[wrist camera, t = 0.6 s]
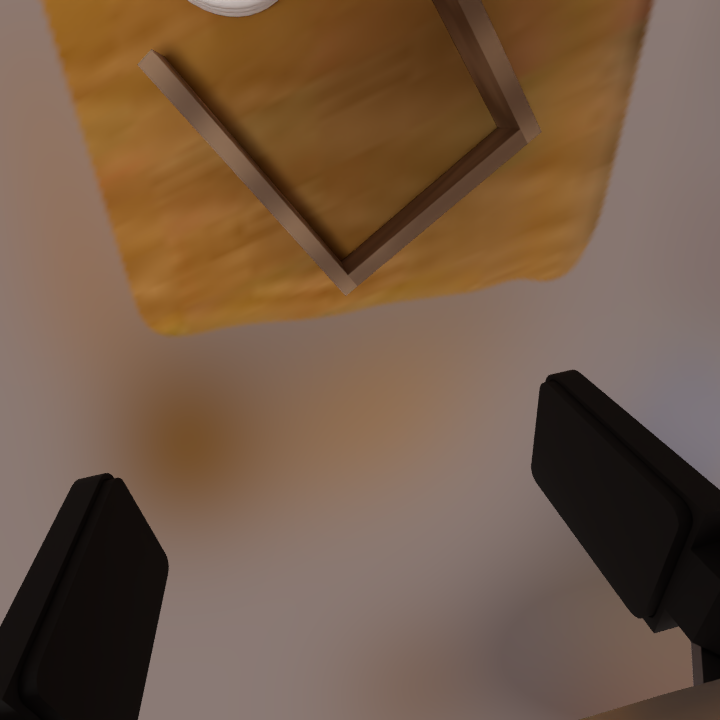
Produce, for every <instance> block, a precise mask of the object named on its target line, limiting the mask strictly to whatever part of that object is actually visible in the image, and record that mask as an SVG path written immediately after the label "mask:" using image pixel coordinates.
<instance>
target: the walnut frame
mask: <svg viewBox="0 0 720 720" xmlns="http://www.w3.org/2000/svg"><path fill="white" fill-rule="evenodd" d="M432 1H433V3H434V5H435V7H436V8H437V10H438V12H439V14H440V16H441V18H442V20H443V22H444V24H445V26H446V28H447V30H448V32H449V34H450V36H451V38H452V40H453V42H454V43H455V45H456V47H457V49H458V51H459V53H460V55H461V57H462V59H463V61H464V63H465V65H466V67H467V69H468V71H469V73H470V75H471V77H472V78H473V80H474V82H475V84H476V86H477V88H478V90H479V92H480V94H481V96H482V98H483V100H484V102H485V104H486V106H487V108H488V110H489V111H490V113H491V115H492V117H493V119H494V121H495V123H496V125H497V127H498V128H497V129H495V130H494V131H493V132H492V133H491V134H490V135H488V136H487V137H486V138H485V139H484V140H483V141H482V142H480V143H479V144H478V145H477V146H476V147H475V148H473V149H472V150H471V151H470V152H469V153H468V154H466V155H465V156H464V157H463V158H462V159H461V160H459V161H458V162H457V163H456V164H455V165H454V166H452V167H451V168H450V169H449V170H448V171H447V172H445V173H444V174H443V175H442V176H441V177H440V178H438V179H437V180H436V181H435V182H434V183H433V184H431V185H430V186H429V187H428V188H427V189H426V190H424V191H423V192H422V193H421V194H420V195H419V196H417V197H416V198H415V199H414V200H413V201H412V202H410V203H409V204H408V205H407V206H406V207H405V208H403V209H402V210H401V211H400V212H399V213H398V214H396V215H395V216H394V217H393V218H392V219H391V220H389V221H388V222H387V223H386V224H385V225H384V226H382V227H381V228H380V229H379V230H378V231H377V232H375V233H374V234H373V235H372V236H371V237H370V238H368V239H367V240H366V241H365V242H364V243H363V244H361V245H360V246H359V247H358V248H357V249H356V250H354V251H353V252H352V253H351V254H350V255H349V256H348V257H346V258H345V259H344V260H343V261H342V262H341V261H340V260H339V259H338V258H337V257H336V256H335V254H334V253H333V252H332V251H331V250H330V249H329V247H328V246H327V245H326V244H325V243H324V242H323V241H322V239H321V238H320V237H319V236H318V235H317V234H316V232H315V231H314V230H313V229H312V228H311V227H310V225H309V224H308V223H307V222H306V221H305V220H304V218H303V217H302V216H301V215H300V214H299V213H298V212H297V210H296V209H295V208H294V207H293V206H292V205H291V203H290V202H289V201H288V200H287V199H286V198H285V196H284V195H283V194H282V193H281V192H280V191H279V189H278V188H277V187H276V186H275V185H274V184H273V182H272V181H271V180H270V179H269V178H268V177H267V176H266V174H265V173H264V172H263V171H262V170H261V169H260V167H259V166H258V165H257V164H256V163H255V162H254V160H253V159H252V158H251V157H250V156H249V155H248V153H247V152H246V151H245V150H244V149H243V148H242V147H241V145H240V144H239V143H238V142H237V141H236V140H235V138H234V137H233V136H232V135H231V134H230V133H229V131H228V130H227V129H226V128H225V127H224V126H223V124H222V123H221V122H220V121H219V120H218V119H217V117H216V116H215V115H214V114H213V113H212V112H211V111H210V109H209V108H208V107H207V106H206V105H205V104H204V102H203V101H202V100H201V99H200V98H199V97H198V95H197V94H196V93H195V92H194V91H193V90H192V88H191V87H190V86H189V85H188V84H187V83H186V82H185V80H184V79H183V78H182V77H181V76H180V75H179V73H178V72H177V71H176V70H175V69H174V68H173V66H172V65H171V64H170V63H169V62H168V61H167V59H166V58H165V57H164V56H163V55H161V54H159V53H157V52H156V51H154V50H152V49H151V50H150V51H149V52H148V54H147V55H146V56H145V57H144V58H143V59H142V60H141V61H140V62H139V63H138V64H137V65H138V66H139V67H140V68H141V69H142V70H143V72H144V73H145V74H146V75H147V76H148V77H149V78H150V79H151V80H152V82H153V83H154V84H155V85H156V86H157V87H158V88H159V89H160V90H161V92H162V93H163V94H164V95H165V96H166V97H167V98H168V99H169V100H170V102H171V103H172V104H173V105H174V106H175V107H176V108H177V109H178V110H179V111H180V113H181V114H182V115H183V116H184V117H185V118H186V119H187V120H188V121H189V123H190V124H191V125H192V126H193V127H194V128H195V129H196V130H197V131H198V133H199V134H200V135H201V136H202V137H203V138H204V139H205V140H206V141H207V143H208V144H209V145H210V146H211V147H212V148H213V149H214V150H215V151H216V153H217V154H218V155H219V156H220V157H221V158H222V159H223V160H224V161H225V163H226V164H227V165H228V166H229V167H230V168H231V169H232V170H233V171H234V173H235V174H236V175H237V176H238V177H239V178H240V179H241V180H242V181H243V183H244V184H245V185H246V186H247V187H248V188H249V189H250V190H251V191H252V192H253V194H254V195H255V196H256V197H257V198H258V199H259V200H260V201H261V202H262V204H263V205H264V206H265V207H266V208H267V209H268V210H269V211H270V212H271V214H272V215H273V216H274V217H275V218H276V219H277V220H278V221H279V222H280V224H281V225H282V226H283V227H284V228H285V229H286V230H287V231H288V232H289V234H290V235H291V236H292V237H293V238H294V239H295V240H296V241H297V242H298V244H299V245H300V246H301V247H302V248H303V249H304V250H305V251H306V252H307V254H308V255H309V256H310V257H311V258H312V259H313V260H314V261H315V262H316V264H317V265H318V266H319V267H320V268H321V269H322V270H323V271H324V272H325V274H326V275H327V276H328V277H329V278H330V279H331V280H332V281H333V282H334V283H335V285H336V286H337V287H338V288H339V289H340V290H341V291H342V292H343V293H344V295H345V296H346V295H347V294H349V293H350V292H351V291H352V290H353V289H355V288H356V287H357V286H358V285H359V284H361V283H362V282H363V281H364V280H365V279H367V278H368V277H369V276H370V275H371V274H373V273H374V272H375V271H376V270H377V269H379V268H380V267H381V266H382V265H383V264H385V263H386V262H387V261H388V260H389V259H390V258H392V257H393V256H394V255H395V254H396V253H398V252H399V251H400V250H401V249H402V248H404V247H405V246H406V245H407V244H408V243H410V242H411V241H412V240H413V239H414V238H416V237H417V236H418V235H419V234H420V233H422V232H423V231H424V230H425V229H426V228H427V227H429V226H430V225H431V224H432V223H433V222H435V221H436V220H437V219H438V218H439V217H441V216H442V215H443V214H444V213H445V212H447V211H448V210H449V209H450V208H451V207H453V206H454V205H455V204H456V203H457V202H459V201H460V200H461V199H462V198H463V197H464V196H466V195H467V194H468V193H469V192H470V191H472V190H473V189H474V188H475V187H476V186H478V185H479V184H480V183H481V182H482V181H484V180H485V179H486V178H487V177H488V176H490V175H491V174H492V173H493V172H494V171H496V170H497V169H498V168H499V167H500V166H501V165H503V164H504V163H505V162H506V161H507V160H509V159H510V158H511V157H512V156H513V155H515V154H516V153H517V152H518V151H519V150H521V149H522V148H523V147H524V146H525V145H527V144H528V143H529V142H530V141H531V140H533V139H534V138H535V137H536V136H537V135H538V134H540V133H541V129H540V127H539V125H538V123H537V121H536V119H535V116H534V114H533V112H532V110H531V108H530V106H529V103H528V101H527V99H526V97H525V95H524V93H523V90H522V88H521V86H520V84H519V82H518V80H517V77H516V75H515V73H514V71H513V69H512V67H511V64H510V62H509V60H508V58H507V56H506V54H505V51H504V49H503V47H502V45H501V43H500V41H499V38H498V36H497V34H496V32H495V30H494V28H493V25H492V23H491V21H490V19H489V17H488V15H487V12H486V10H485V8H484V6H483V4H482V2H481V0H432Z"/></svg>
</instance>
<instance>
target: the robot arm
mask: <svg viewBox="0 0 720 720" xmlns="http://www.w3.org/2000/svg"><path fill="white" fill-rule="evenodd" d="M531 470H532V474H533V477H534V479H535V481H536V483H537V484H538V486H539V487H540V488H541V490H542V491H543V492H544V494H545V495H546V497H547V498H548V499H549V501H550V502H551V504H552V505H553V506H554V507H555V509H556V510H557V512H558V513H559V515H560V516H561V517H562V519H563V520H564V521H565V523H566V524H567V525H568V527H569V528H570V530H571V531H572V532H573V534H574V535H575V537H576V538H577V539H578V541H579V542H580V543H581V545H582V546H583V547H584V549H585V550H586V552H587V553H588V554H589V556H590V557H591V558H592V560H593V561H594V563H595V564H596V565H597V567H598V568H599V570H600V571H601V572H602V574H603V575H604V576H605V578H606V579H607V580H608V582H609V583H610V585H611V586H612V588H613V589H614V590H615V592H616V593H617V594H618V595H619V597H620V598H621V600H622V601H623V603H624V604H625V605H626V607H627V608H628V609H629V610H630V612H631V613H632V614H633V615H634V616H635V617H637V618H643V619H644V620H645V622H646V623H647V625H648V626H649V627H650V629H651V630H652V631H653V632H654V633H657V632H660V631H664V630H667V629H671V628H674V627H678V626H679V627H680V628H681V629H682V631H683V632H684V633H685V634H686V636H687V637H688V638H689V639H690V641H691V650H692V668H693V685H694V686H693V687H689V688H686V689H682V690H678V691H675V692H671V693H668V694H664V695H660V696H657V697H653V698H650V699H647V700H643V701H640V702H637V703H634V704H630V705H627V706H623V707H620V708H617V709H613V710H610V711H607V712H603V713H600V714H597V715H593V716H590V717H587V718H583V719H580V720H720V490H719V489H718V488H717V487H716V486H714V485H713V484H712V483H711V482H709V481H708V480H707V479H706V478H705V477H704V476H702V475H701V474H700V473H699V472H698V471H697V470H695V469H694V468H693V467H692V466H691V465H689V464H688V463H687V462H686V461H684V460H683V459H682V458H681V457H680V456H679V455H677V454H676V453H675V452H674V451H673V450H671V449H670V448H669V447H668V446H667V445H665V444H664V443H663V442H662V441H661V440H659V439H658V438H657V437H656V436H655V435H654V434H652V433H651V432H650V431H649V430H648V429H646V428H645V427H644V426H643V425H642V424H640V423H639V422H638V421H637V420H636V419H634V418H633V417H632V416H631V415H630V414H629V413H627V412H626V411H625V410H624V409H623V408H621V407H620V406H619V405H618V404H617V403H615V402H614V401H613V400H612V399H610V398H609V397H608V396H607V395H606V394H605V393H603V392H602V391H601V390H600V389H598V388H597V387H596V386H595V385H594V384H593V383H591V382H590V381H589V380H588V379H587V378H586V377H584V376H583V375H582V374H581V373H579V372H578V371H576V370H569V371H565V372H560V373H556V374H552V375H549V376H548V377H547V378H546V382H544V383H542V384H541V386H540V391H539V400H538V409H537V418H536V428H535V436H534V445H533V455H532V464H531ZM168 567H169V566H168V559H167V556H166V554H165V552H164V550H163V549H162V547H161V545H160V544H159V542H158V540H157V539H156V537H155V535H154V533H153V531H152V530H151V528H150V526H149V525H148V523H147V521H146V519H145V518H144V516H143V514H142V512H141V511H140V509H139V507H138V506H137V504H136V502H135V500H134V499H133V497H132V495H131V494H130V492H129V490H128V489H127V487H126V485H125V483H124V482H123V480H122V479H120V478H114V477H113V476H112V475H111V474H109V473H104V474H100V475H95V476H91V477H86V478H82V479H78V480H77V481H75V482H74V484H73V485H72V487H71V489H70V491H69V493H68V495H67V497H66V499H65V501H64V503H63V505H62V507H61V508H60V510H59V512H58V514H57V517H56V519H55V520H54V522H53V524H52V526H51V528H50V530H49V532H48V534H47V536H46V538H45V540H44V542H43V544H42V546H41V548H40V550H39V552H38V554H37V556H36V558H35V559H34V562H33V564H32V566H31V567H30V570H29V571H28V573H27V575H26V577H25V579H24V581H23V583H22V585H21V587H20V589H19V591H18V593H17V595H16V597H15V599H14V601H13V603H12V605H11V607H10V609H9V611H8V613H7V614H6V617H5V618H4V620H3V623H2V624H1V626H0V720H138V716H139V711H140V706H141V701H142V697H143V692H144V687H145V682H146V677H147V672H148V668H149V663H150V658H151V653H152V648H153V643H154V639H155V634H156V629H157V624H158V620H159V614H160V609H161V605H162V600H163V595H164V591H165V586H166V581H167V576H168Z"/></svg>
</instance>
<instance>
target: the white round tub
mask: <svg viewBox="0 0 720 720" xmlns="http://www.w3.org/2000/svg"><path fill="white" fill-rule="evenodd" d="M188 1H189V2H191V3H192V4H194V5H196V6H198V7H200V8H202V9H203V10H206V11H208V12H211V13H214V14H217V15H222V16H228V17H242V16H250V15H253V14H256V13H259V12H261V11H263V10H265V9H267V8H269V7H270V6H271V5H273V4H274V3H275V2H277V1H278V0H188Z"/></svg>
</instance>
